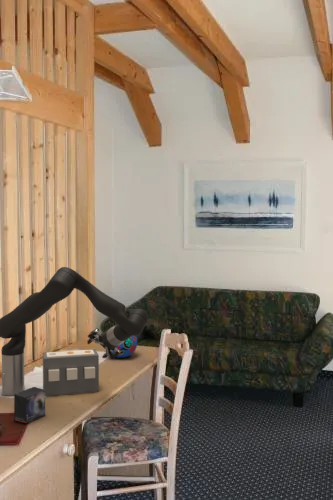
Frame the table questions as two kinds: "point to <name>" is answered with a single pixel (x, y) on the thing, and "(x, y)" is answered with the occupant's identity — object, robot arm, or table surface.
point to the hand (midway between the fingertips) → (96, 349)
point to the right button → (89, 372)
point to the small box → (29, 404)
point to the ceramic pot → (127, 347)
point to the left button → (53, 374)
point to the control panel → (67, 361)
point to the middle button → (71, 373)
